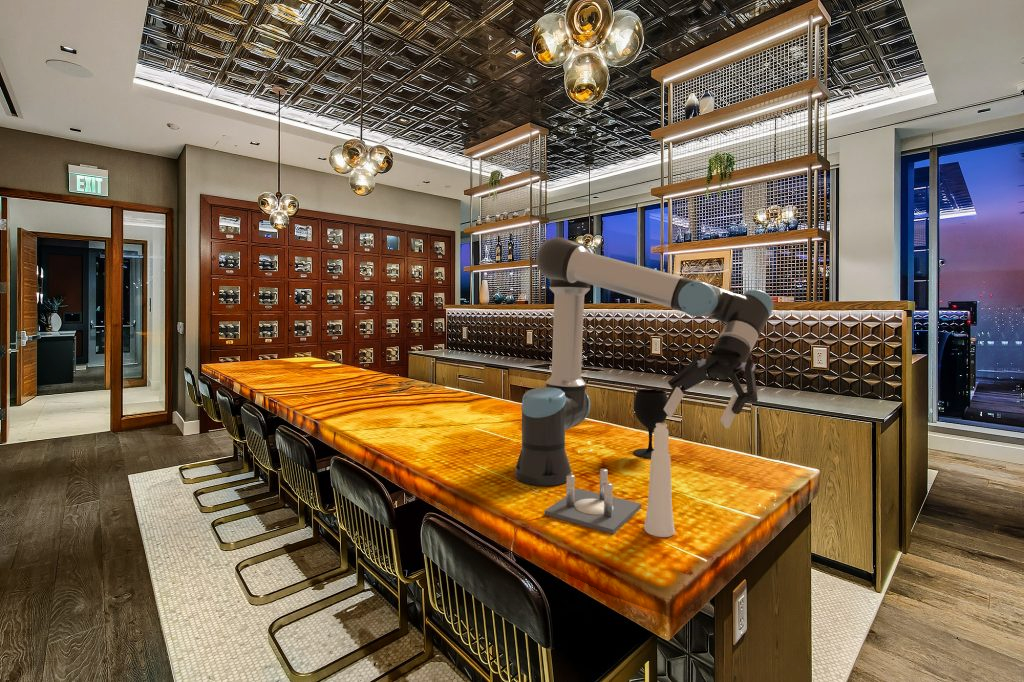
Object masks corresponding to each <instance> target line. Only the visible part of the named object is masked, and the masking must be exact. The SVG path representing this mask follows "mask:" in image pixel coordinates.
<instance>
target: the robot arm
mask: <svg viewBox="0 0 1024 682" xmlns="http://www.w3.org/2000/svg"><path fill="white" fill-rule="evenodd" d="M535 262H536V266H537V269H538V270H539V272H540V273H541V274H542V276H543V277H545V278H547V279H548V280H549V290H550V291H551V292H552V293H553V294H554V295H553V296H554V298H553V299H554V300H553V325H552V326H553V329H552V358H551V376H550V377H548V379H547V380H546V381H545V386H544V387H543V386H542V387H539V388H532V389H529V390H527V391H526V392H525V393H524V394H523V395H522V400H521V407H520V409H521V449H520V453H519V456H518V458H517V462H516V464H515V470H514V471H515V473H514V474H515V475H514V476H515V479H516V480H518V481H519V482H521V483H524V484H527V485H532V486H538V487H540V486H541V487H545V486H546V487H548V486H549V487H551V486H558V485H559V486H560V485H562V484H567V474H572V468H571V465H570V461H569V458H568V454H567V452H566V430H569V429H570V428H574V427H576V426H578V425H580V424H581V423H582V422H583V421H584V420H585V419H586V418H587V417H588V415H589V414H590V410H591V400H590V397H589V394H588V393H587V391H586V390H587V388H586V387H587V384H586V382H585V381H584V379H583V378H582V359H583V336H584V335H583V334H584V333H583V331H584V314H585V313H584V309H585V295H586V294H587V293H588V292H589V291H590V290H591V286H595V287H598V288H602V289H605V290H608V291H611V292H615V293H618V294H622V295H626V296H629V297H632V298H637V299H638V300H639V299H640V300H642V301H643V300H644V301H646V302H648V303H653V304H656V305H659V306H663V307H665V308H670V309H673V310H675V311H679V312H682V313H685V314H686V315H689V316H691V317H692V316H693V317H698V318H699V317H708V318H710V319H713V320H716V321H719V322H721V323H722V324H723V323H724V324H725V326H724V327H723V329H722V331H721V332H720V334H719V336H718V338H717V339H716V342H715V343H714V345H713V347H712V349H711V351H710V352H711V353H710V356H708V357H707V358H702V357H701V356H700V355H696V356H695V358H694V359H693V360H692V361H691V362H690V363H689V364H688V365H687V366H686V367H684V368H683V369H682V370H681V371H679V372H678V373H677V374H675V375H674V376H673V377H671V378H670V379H669V380H668V381H667V383H668V385H669V386H670V388H671V389H672V390H671V391H670V393H669V394H668V395H667V398H668V402H667V404H666V406H665V407H664V411H665V412H666V413H667V417H668V418H669V417H670V418H672V417H673V415H674V414H675V412H676V410H677V408H678V406H679V405H680V403H681V401H682V399H683V398H684V397H685V394H684V393H683V392H686V391H687V390H689V389H691V388H692V387H694V386H696V385H698V384H700V383H701V382H704V381H708V380H711V379H721V380H724V381H726V379H730V381H731V384H732V386H733V388H734V390H735V392H736V394H737V395H736V394H732V395H731V397H730V400H729V402H728V403H727V405H726V407H725V409H724V411H723V413H722V415H721V417H720V418H719V421H720V422H721V424H722V425H723V427H724V428H725V429H730V426H731V424H732V422H733V421H734V419H735V417H736V415H739V414H741V412H742V411H743V408H744V407H745V405H746V404H747V403H748V402H753V403H755V402H756V403H757V401H758V400H759V399H758V398H759V397H758V390H757V385H756V377H755V376H756V375H755V374H756V372H757V367H756V364H755V362H754V360H753V359H748V358H749V357H750V354H751V352H752V350H753V349H754V347H755V345H756V343H757V341H758V339H759V337H760V336H761V334H762V331H763V330H764V328H765V326H766V324H767V323H768V320H769V318H770V316H771V315H772V314H771V313H772V311H773V310H774V306H775V305H774V304H775V303H774V300H773V297H772V296H770V295H769V294H768V293H767V292H765V291H762V290H759V289H754V290H753V289H749V290H746V291H745V292H743V294H739V293H735V292H732V291H729V290H726V289H723V288H722V287H718V286H715V285H712V284H710V283H708V282H705V281H703V280H702V281H701V280H697V279H692V278H688V277H683V276H682V275H681V276H680V275H677V274H676V275H675V274H673V273H669V272H664V271H661V270H657V269H655V268H650V267H646V266H642V265H638V264H636V263H635V264H634V263H631V262H627V261H623V260H620V259H616V258H611V257H608V256H605V255H600V254H598V253H597V254H596V253H594V252H593V251H592V250H591V249H590V248H589V247H588V246H587V245H585V244H583V243H581V242H578V241H573V240H570V239H567V238H565V237H551V238H549V239H547V240H546V241H545V242H542V244H541V245H540V246H539V248H538V251H537V252H536V261H535ZM742 370H743V371H744V377H745V385H746V392H744V389H743V387H742V386H741V384H740V381H739V379H738V377H737V374H738V373H739V372H741V371H742ZM706 371H707V373H706Z"/></svg>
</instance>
